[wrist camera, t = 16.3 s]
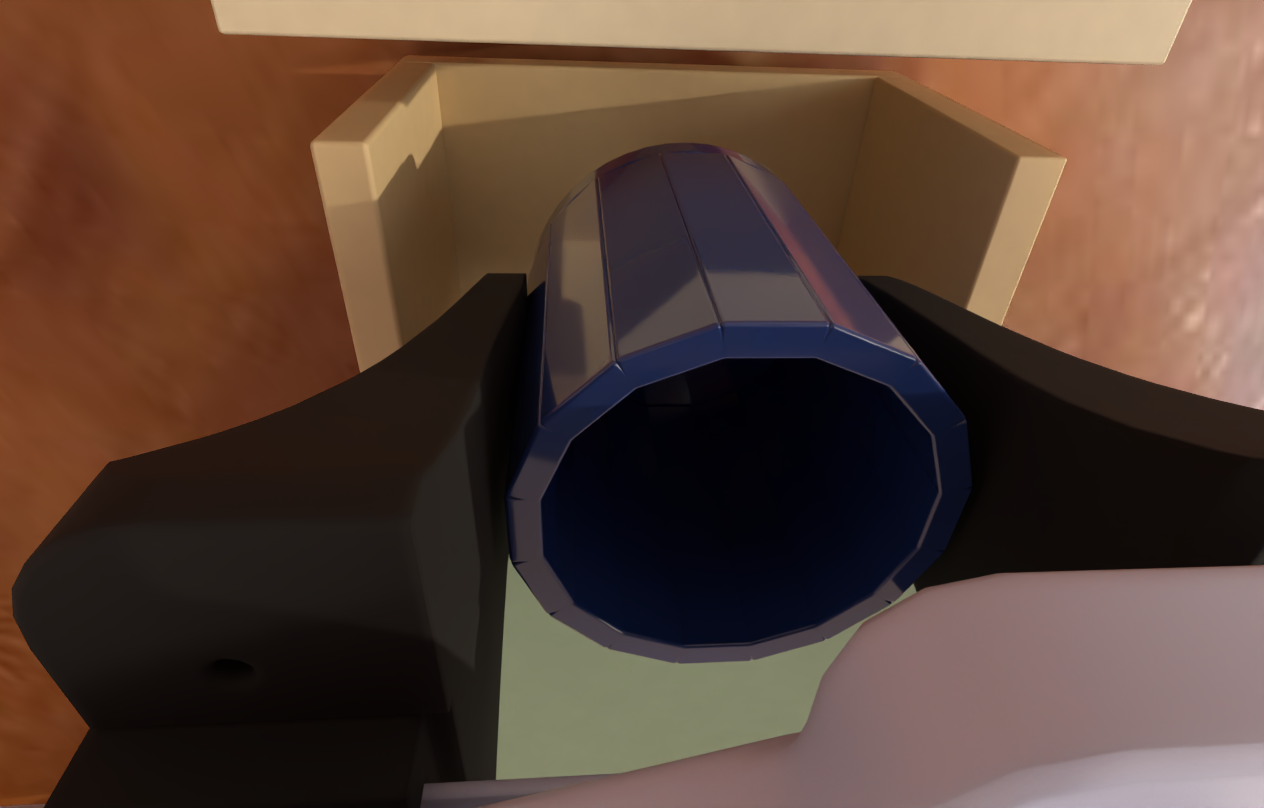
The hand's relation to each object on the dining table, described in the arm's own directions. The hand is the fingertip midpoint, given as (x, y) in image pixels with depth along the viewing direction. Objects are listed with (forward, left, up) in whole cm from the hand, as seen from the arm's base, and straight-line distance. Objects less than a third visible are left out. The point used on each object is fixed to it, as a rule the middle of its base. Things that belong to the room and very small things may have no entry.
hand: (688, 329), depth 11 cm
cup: (0, 0, -2) cm, 2 cm away
